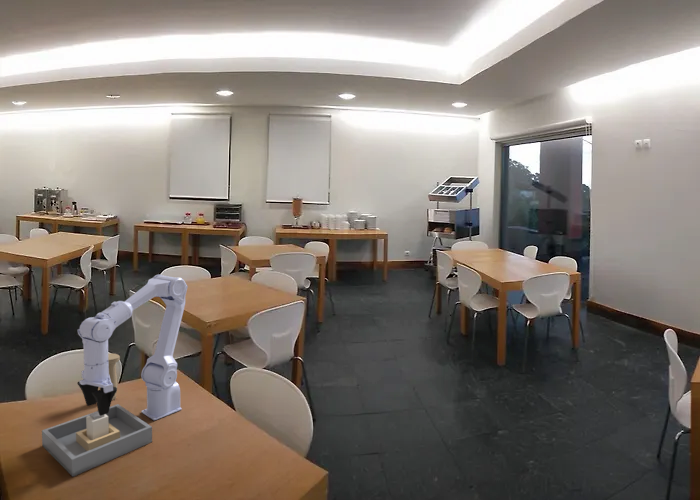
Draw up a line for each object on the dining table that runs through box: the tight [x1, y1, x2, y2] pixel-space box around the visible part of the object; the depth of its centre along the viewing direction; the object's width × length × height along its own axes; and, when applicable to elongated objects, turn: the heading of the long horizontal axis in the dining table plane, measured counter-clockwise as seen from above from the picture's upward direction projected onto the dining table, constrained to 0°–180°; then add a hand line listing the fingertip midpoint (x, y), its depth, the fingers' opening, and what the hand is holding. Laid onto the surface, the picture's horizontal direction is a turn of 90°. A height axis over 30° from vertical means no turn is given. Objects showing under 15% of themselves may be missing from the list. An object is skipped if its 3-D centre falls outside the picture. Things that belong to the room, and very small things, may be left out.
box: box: [41, 403, 153, 477], centre depth 117 cm, size 20×20×4 cm
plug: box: [86, 411, 109, 440], centre depth 116 cm, size 4×4×8 cm
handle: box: [108, 352, 121, 401], centre depth 141 cm, size 5×6×15 cm
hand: (97, 409), depth 116 cm, fingers open, 7 cm apart
